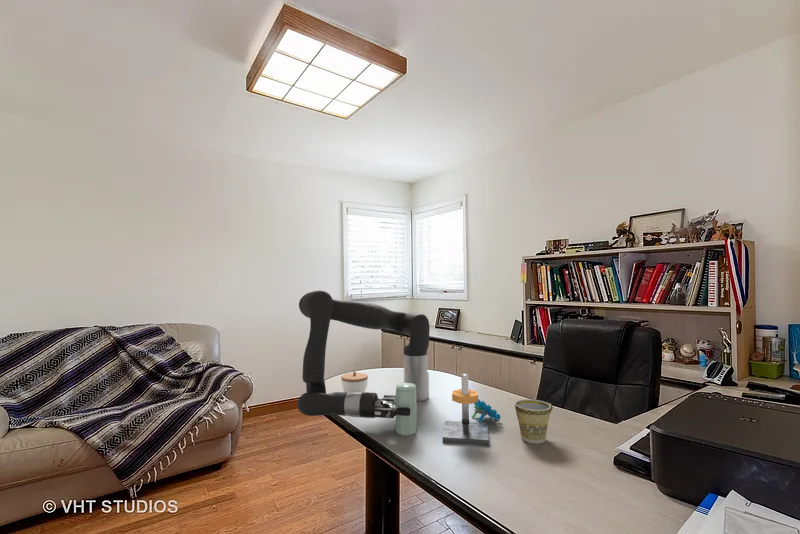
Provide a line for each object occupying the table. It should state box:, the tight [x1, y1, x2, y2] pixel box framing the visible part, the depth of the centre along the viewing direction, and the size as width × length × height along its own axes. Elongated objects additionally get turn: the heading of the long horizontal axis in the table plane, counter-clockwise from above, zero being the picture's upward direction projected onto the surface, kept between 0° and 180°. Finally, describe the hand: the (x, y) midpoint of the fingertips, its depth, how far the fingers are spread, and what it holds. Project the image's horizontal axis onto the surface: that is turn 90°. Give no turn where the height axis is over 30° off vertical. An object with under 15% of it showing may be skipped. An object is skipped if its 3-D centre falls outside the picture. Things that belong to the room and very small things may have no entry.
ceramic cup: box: [514, 398, 553, 445], centre depth 115 cm, size 13×10×10 cm
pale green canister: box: [395, 382, 418, 436], centre depth 120 cm, size 6×6×14 cm
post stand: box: [442, 373, 490, 446], centre depth 117 cm, size 13×13×18 cm
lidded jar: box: [340, 371, 369, 392], centre depth 158 cm, size 11×11×9 cm
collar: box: [451, 388, 479, 405], centre depth 117 cm, size 8×8×2 cm
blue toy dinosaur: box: [471, 398, 501, 423], centre depth 128 cm, size 11×6×10 cm
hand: (412, 407), depth 120 cm, fingers open, 8 cm apart
